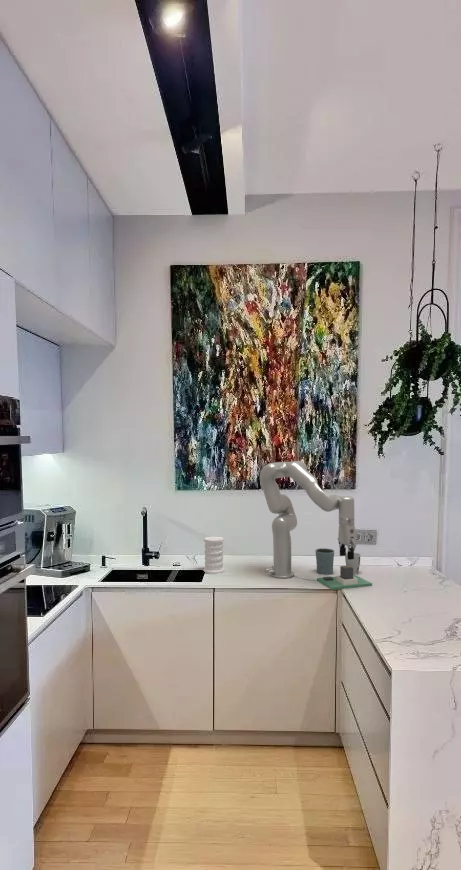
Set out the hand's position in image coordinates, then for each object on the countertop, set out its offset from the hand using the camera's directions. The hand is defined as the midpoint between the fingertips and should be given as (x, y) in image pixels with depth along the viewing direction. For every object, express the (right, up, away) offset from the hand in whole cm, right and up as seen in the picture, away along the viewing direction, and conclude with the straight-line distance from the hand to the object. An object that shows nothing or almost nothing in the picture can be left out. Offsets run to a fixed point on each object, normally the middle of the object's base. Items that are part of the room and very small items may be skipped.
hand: (346, 557), depth 236 cm
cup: (+8, -14, +21) cm, 27 cm away
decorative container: (-67, -14, +25) cm, 73 cm away
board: (-1, -14, +3) cm, 14 cm away
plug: (0, -12, 0) cm, 12 cm away
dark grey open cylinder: (-6, -14, +22) cm, 27 cm away
